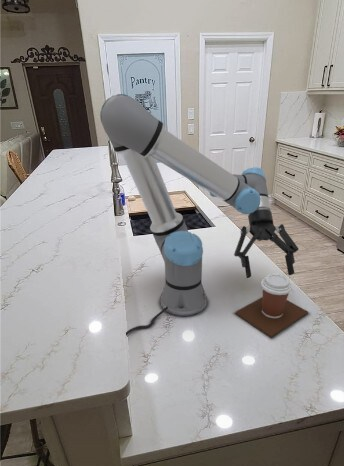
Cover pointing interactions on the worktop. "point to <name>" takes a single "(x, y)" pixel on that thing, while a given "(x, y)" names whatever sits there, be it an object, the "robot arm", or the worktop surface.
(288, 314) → the brown mat
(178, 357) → the worktop surface
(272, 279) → the coffee cup
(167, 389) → the worktop surface
